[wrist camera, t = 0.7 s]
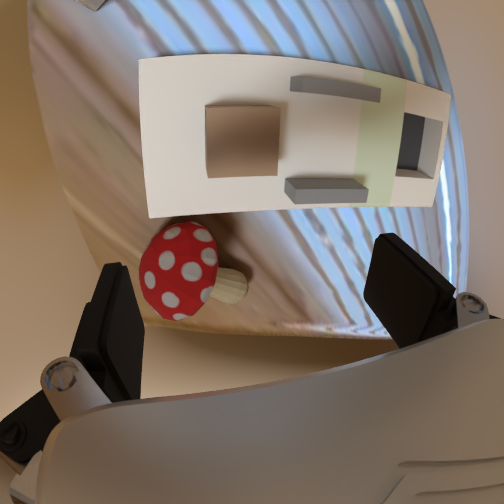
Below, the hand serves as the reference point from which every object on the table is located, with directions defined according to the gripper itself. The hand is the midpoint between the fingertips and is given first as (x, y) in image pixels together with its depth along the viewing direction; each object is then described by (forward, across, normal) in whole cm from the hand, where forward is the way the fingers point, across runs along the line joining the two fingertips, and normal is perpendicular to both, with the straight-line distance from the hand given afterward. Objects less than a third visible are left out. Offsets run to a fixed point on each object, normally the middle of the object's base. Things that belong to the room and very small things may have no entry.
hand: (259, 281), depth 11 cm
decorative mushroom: (+25, +3, +14) cm, 28 cm away
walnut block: (+20, -2, -2) cm, 20 cm away
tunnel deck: (+24, -11, -2) cm, 27 cm away
